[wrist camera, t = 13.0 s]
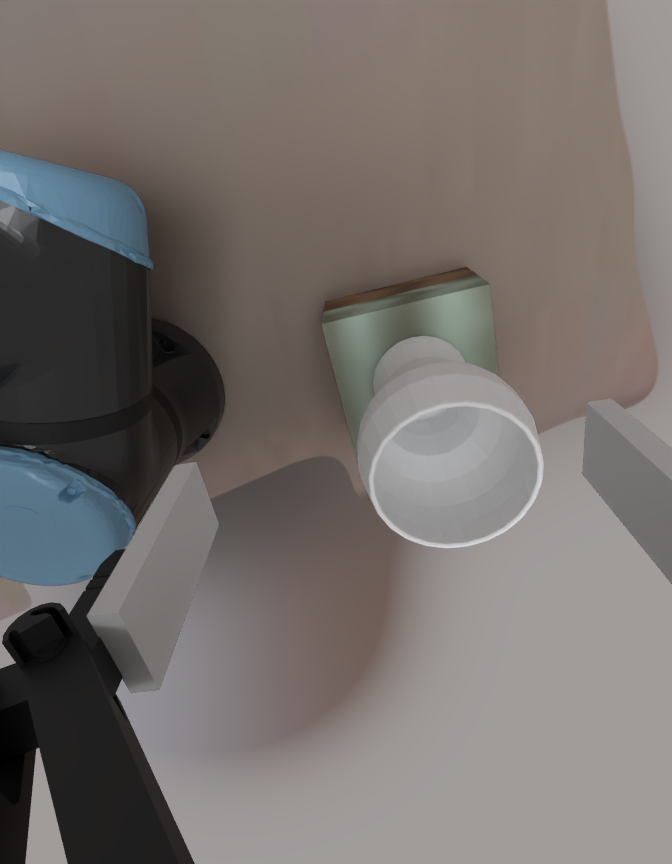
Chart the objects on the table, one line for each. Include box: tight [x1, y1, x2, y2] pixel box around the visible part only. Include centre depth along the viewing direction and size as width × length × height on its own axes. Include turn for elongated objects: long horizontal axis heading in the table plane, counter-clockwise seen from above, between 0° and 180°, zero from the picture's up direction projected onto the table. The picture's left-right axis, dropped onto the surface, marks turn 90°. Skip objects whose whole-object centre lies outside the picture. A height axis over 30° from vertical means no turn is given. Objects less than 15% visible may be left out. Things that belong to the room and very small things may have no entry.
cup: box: [357, 336, 544, 548], centre depth 33 cm, size 11×11×15 cm
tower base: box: [321, 267, 499, 463], centre depth 44 cm, size 13×13×8 cm
